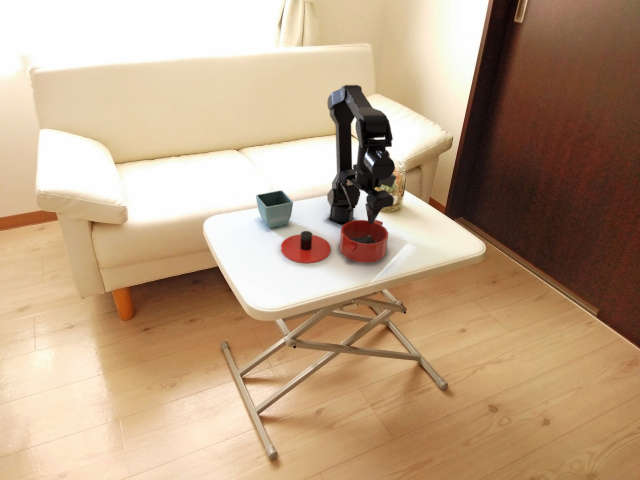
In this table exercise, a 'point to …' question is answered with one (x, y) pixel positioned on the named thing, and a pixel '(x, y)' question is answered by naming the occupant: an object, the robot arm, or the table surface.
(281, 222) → the flower pot
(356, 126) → the robot arm
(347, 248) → the pot
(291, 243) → the lid
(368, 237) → the grey lumpy block
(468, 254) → the table surface
